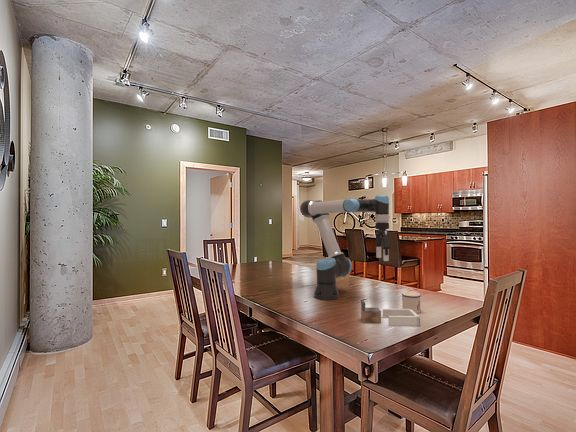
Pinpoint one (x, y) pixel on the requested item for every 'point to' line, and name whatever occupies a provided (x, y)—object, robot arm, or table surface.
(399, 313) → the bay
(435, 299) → the table surface
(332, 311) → the table surface
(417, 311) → the teacup with lid
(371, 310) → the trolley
